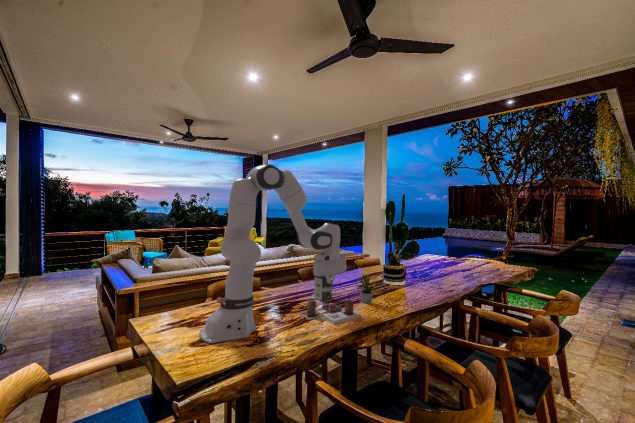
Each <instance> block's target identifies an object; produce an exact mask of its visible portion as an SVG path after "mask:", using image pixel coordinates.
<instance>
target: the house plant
mask: <svg viewBox="0 0 635 423" xmlns="http://www.w3.org/2000/svg"><path fill="white" fill-rule="evenodd" d="M361 275H362V278H363V280H362V279H361V278H357V277H358V276H355V278H357V280H358V281H359V282H360V283H361V285H360V284H358V283H355V284H356V287H359V288H360V299H361V300H360V301H361V303H363V304H365V305H367V306H368V305H371V304H372V302H373V297H374V296H373V295H374V289H377V288H376V287H375V285H374V282H375V281H377V280H379V278H378V279H376V278H373V280H372V282H371V283H370V280H371V279H370V274H369V275H368V274H365V275H364V273H361Z"/></svg>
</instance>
